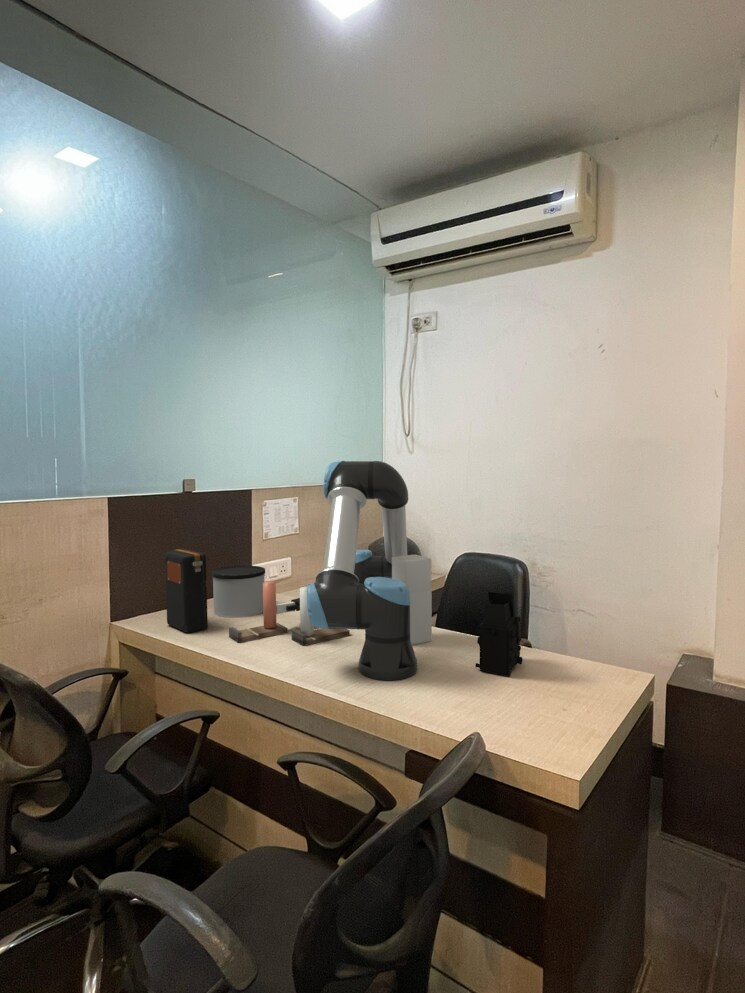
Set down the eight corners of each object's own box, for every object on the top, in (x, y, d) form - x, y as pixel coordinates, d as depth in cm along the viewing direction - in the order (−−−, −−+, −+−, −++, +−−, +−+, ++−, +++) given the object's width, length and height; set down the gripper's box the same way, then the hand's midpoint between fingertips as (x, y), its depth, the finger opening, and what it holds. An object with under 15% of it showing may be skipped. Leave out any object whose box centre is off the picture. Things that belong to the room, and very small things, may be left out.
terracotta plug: (273, 623, 177) (272, 580, 176) (278, 626, 174) (277, 582, 173) (261, 625, 175) (260, 582, 174) (267, 628, 171) (266, 584, 171)
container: (231, 621, 188) (230, 577, 187) (203, 611, 201) (201, 570, 200) (276, 610, 201) (275, 569, 200) (247, 601, 214) (246, 563, 213)
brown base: (276, 626, 180) (276, 617, 180) (289, 633, 173) (288, 624, 173) (227, 636, 171) (227, 626, 171) (239, 643, 164) (239, 633, 163)
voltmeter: (211, 629, 178) (209, 552, 177) (186, 635, 172) (183, 556, 171) (188, 619, 189) (186, 547, 188) (163, 625, 183) (161, 550, 182)
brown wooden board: (335, 629, 177) (335, 619, 177) (351, 636, 170) (351, 626, 170) (290, 639, 168) (289, 629, 167) (304, 646, 160) (304, 636, 160)
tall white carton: (391, 637, 168) (391, 556, 167) (416, 633, 172) (416, 554, 171) (406, 646, 160) (406, 561, 159) (432, 641, 164) (431, 558, 163)
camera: (527, 661, 147) (528, 587, 146) (512, 679, 135) (513, 598, 134) (491, 655, 152) (491, 583, 151) (473, 671, 140) (474, 593, 139)
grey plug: (309, 631, 169) (309, 586, 168) (316, 634, 166) (315, 588, 165) (298, 633, 166) (297, 587, 166) (304, 636, 163) (303, 590, 162)
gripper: (348, 613, 184) (285, 625, 171) (328, 605, 195) (267, 616, 181) (348, 591, 184) (284, 601, 170) (328, 584, 194) (266, 594, 181)
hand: (275, 609), depth 176 cm, fingers closed
